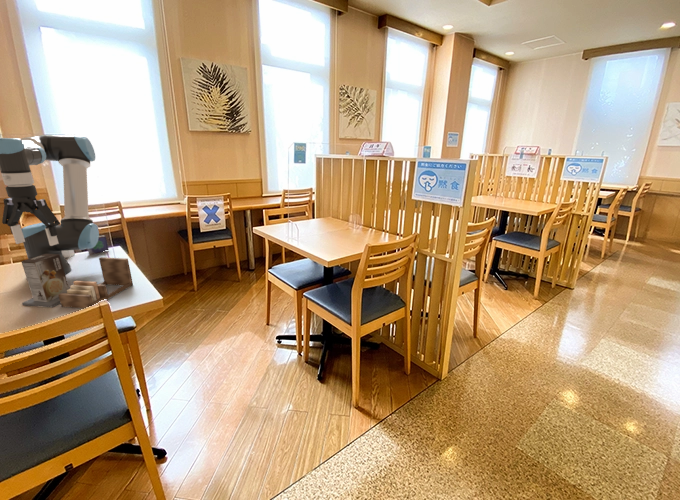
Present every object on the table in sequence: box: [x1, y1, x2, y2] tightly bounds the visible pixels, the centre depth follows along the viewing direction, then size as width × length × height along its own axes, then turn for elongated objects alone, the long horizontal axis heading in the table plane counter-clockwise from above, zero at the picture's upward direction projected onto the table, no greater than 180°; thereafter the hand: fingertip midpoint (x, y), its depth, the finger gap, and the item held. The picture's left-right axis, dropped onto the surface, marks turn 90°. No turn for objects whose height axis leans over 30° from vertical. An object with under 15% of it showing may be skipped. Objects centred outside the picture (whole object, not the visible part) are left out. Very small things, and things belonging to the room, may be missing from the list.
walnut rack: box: [58, 256, 134, 309], centre depth 127 cm, size 12×21×12 cm, turn 174°
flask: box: [87, 234, 110, 256], centre depth 176 cm, size 9×3×11 cm, turn 141°
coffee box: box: [20, 254, 70, 302], centre depth 122 cm, size 9×6×16 cm
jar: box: [62, 250, 75, 259], centre depth 170 cm, size 9×8×12 cm
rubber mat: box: [21, 297, 61, 308], centre depth 125 cm, size 12×12×1 cm
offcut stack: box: [67, 280, 100, 302], centre depth 121 cm, size 8×4×8 cm, turn 84°
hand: (37, 243), depth 119 cm, fingers open, 13 cm apart
